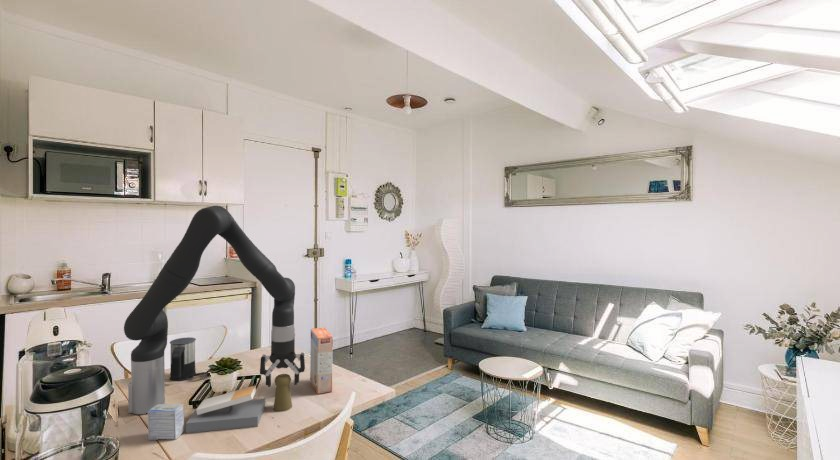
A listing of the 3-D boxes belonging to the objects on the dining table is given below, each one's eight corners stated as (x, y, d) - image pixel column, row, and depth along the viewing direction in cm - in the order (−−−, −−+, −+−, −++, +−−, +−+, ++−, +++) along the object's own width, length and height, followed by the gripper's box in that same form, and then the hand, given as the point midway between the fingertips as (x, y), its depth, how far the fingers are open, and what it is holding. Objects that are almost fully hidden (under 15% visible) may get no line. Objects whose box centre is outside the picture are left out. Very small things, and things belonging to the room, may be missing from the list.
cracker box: (333, 392, 146) (333, 335, 146) (316, 395, 143) (316, 337, 143) (325, 378, 159) (325, 326, 158) (309, 380, 156) (309, 328, 156)
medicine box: (184, 432, 118) (184, 403, 118) (175, 440, 114) (175, 410, 113) (157, 432, 118) (157, 403, 118) (147, 440, 113) (147, 410, 113)
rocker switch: (197, 414, 120) (196, 409, 120) (204, 404, 127) (203, 399, 127) (252, 399, 124) (250, 394, 124) (256, 390, 131) (255, 385, 130)
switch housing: (185, 433, 117) (185, 416, 117) (200, 412, 130) (200, 397, 130) (257, 426, 121) (257, 410, 121) (265, 406, 134) (265, 392, 134)
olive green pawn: (285, 401, 138) (285, 370, 138) (295, 406, 134) (295, 374, 134) (269, 407, 133) (269, 375, 133) (279, 413, 130) (279, 380, 129)
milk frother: (169, 375, 161) (169, 339, 160) (212, 367, 169) (212, 333, 169) (170, 387, 149) (169, 348, 148) (217, 378, 157) (216, 342, 157)
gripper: (258, 342, 128) (258, 391, 129) (304, 339, 131) (303, 388, 132) (262, 335, 136) (262, 382, 136) (305, 333, 139) (305, 379, 139)
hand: (282, 385), depth 134 cm, fingers open, 8 cm apart
